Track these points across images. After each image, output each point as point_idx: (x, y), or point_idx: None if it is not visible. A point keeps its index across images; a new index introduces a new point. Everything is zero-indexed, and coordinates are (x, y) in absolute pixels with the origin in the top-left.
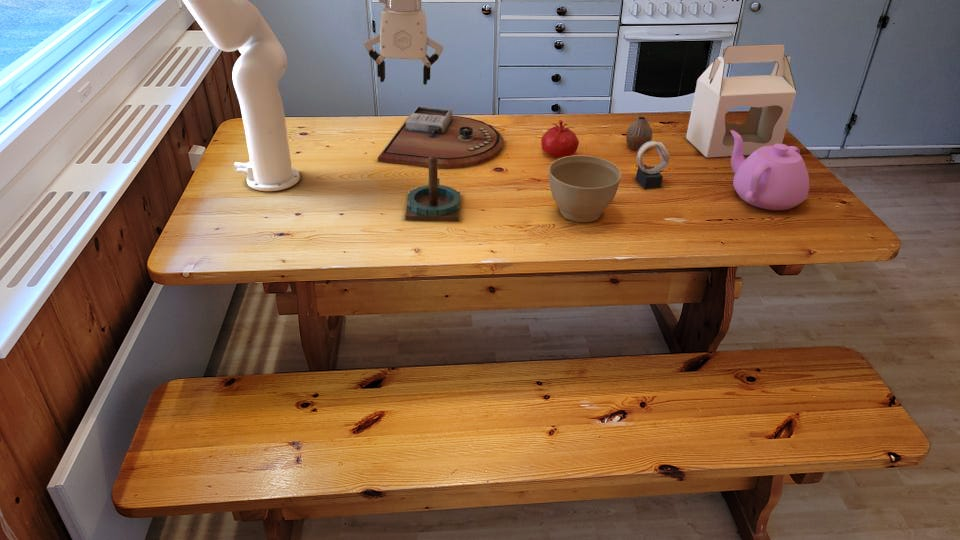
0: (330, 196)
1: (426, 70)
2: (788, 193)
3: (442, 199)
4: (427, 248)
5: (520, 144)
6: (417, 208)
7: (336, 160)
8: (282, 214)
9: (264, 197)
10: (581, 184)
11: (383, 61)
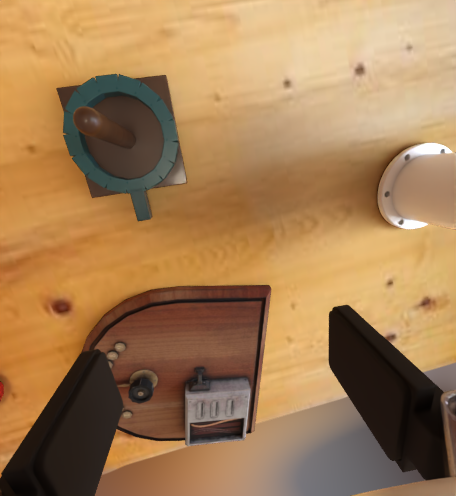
0: (318, 149)
1: (23, 444)
2: None
3: (114, 158)
4: None
5: None
6: (142, 84)
7: (332, 273)
8: (385, 65)
9: (420, 124)
10: None
11: (409, 453)
